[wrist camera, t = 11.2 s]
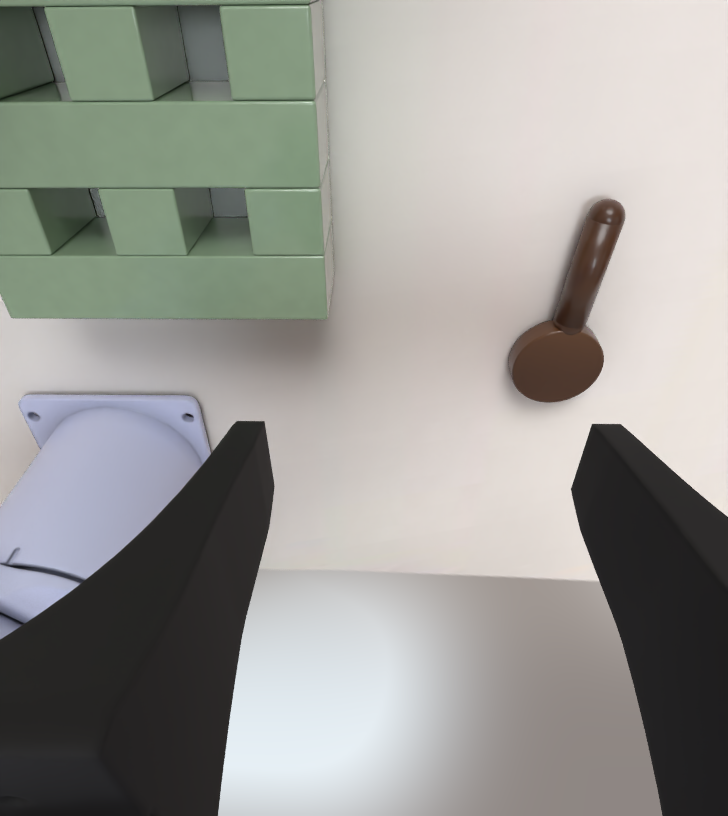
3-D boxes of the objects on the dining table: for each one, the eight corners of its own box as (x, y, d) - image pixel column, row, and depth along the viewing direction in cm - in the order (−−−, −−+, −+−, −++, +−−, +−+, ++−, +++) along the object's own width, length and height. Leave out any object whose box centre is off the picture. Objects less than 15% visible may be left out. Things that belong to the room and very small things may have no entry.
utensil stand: (334, 274, 21) (327, 320, 18) (58, 273, 21) (10, 319, 18) (306, -376, 12) (284, -483, 9) (-180, -363, 12) (-348, -465, 9)
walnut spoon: (562, 203, 18) (503, 402, 23) (672, 210, 18) (588, 408, 23) (553, 190, 19) (499, 385, 24) (658, 197, 19) (580, 390, 24)
